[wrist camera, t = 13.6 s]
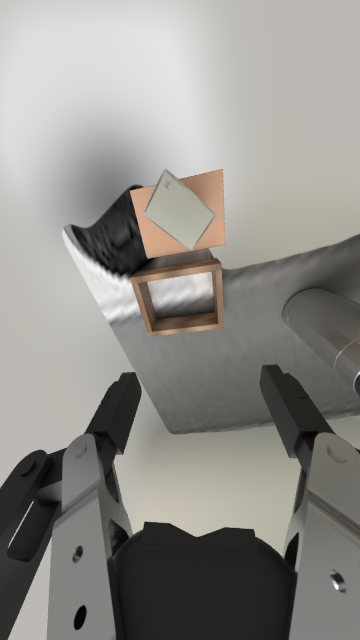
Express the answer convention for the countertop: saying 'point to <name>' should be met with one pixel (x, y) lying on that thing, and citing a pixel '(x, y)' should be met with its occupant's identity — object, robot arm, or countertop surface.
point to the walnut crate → (183, 322)
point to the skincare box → (178, 211)
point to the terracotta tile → (207, 191)
